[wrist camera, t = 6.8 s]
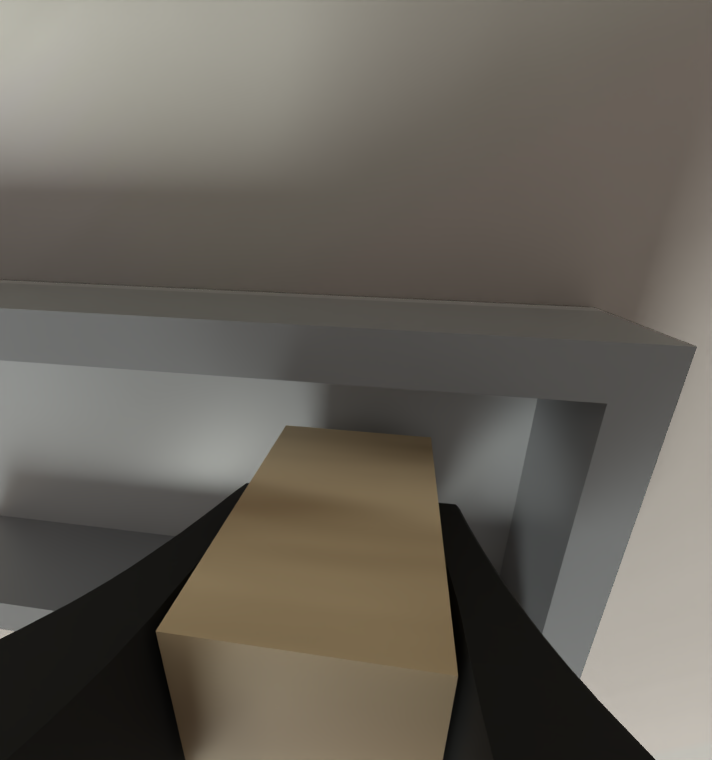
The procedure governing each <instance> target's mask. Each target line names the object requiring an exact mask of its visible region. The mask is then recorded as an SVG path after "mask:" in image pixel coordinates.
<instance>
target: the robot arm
mask: <svg viewBox="0 0 712 760" xmlns="http://www.w3.org/2000/svg"><path fill="white" fill-rule="evenodd" d="M248 485H249V483H246V484H244V485H243V486H242V487H240V488H239V489H237V490H236V491H235V492H234V493H232V494H231V495H230V496H228V497H227V498H226V499H224V500H223V501H222V502H221V503H219V504H218V505H217V506H215V507H214V508H213V509H212V510H210V511H209V512H208V513H206V514H205V515H204V516H202V517H201V518H200V519H198V520H197V521H196V522H194V523H193V524H192V525H190V526H189V527H188V528H186V529H185V530H184V531H182V532H181V533H179V534H178V535H177V536H175V537H174V538H172V539H171V540H169V541H168V542H166V543H165V544H164V545H162V546H161V547H159V548H158V549H156V550H155V551H153V552H152V553H150V554H149V555H148V556H146V557H145V558H143V559H142V560H140V561H139V562H137V563H136V564H134V565H133V566H131V567H130V568H128V569H126V570H125V571H123V572H122V573H120V574H118V575H117V576H115V577H114V578H112V579H110V580H109V581H107V582H105V583H104V584H102V585H100V586H98V587H97V588H95V589H93V590H92V591H90V592H88V593H87V594H85V595H83V596H81V597H80V598H78V599H76V600H74V601H72V602H71V603H69V604H67V605H65V606H63V607H61V608H59V609H57V610H55V611H54V612H52V613H50V614H48V615H46V616H44V617H42V618H40V619H38V620H36V621H34V622H32V623H31V624H29V625H27V626H25V627H23V628H21V629H19V630H17V631H15V632H13V633H11V634H9V635H7V636H5V637H3V638H1V639H0V760H185V756H184V752H183V748H182V743H181V739H180V735H179V730H178V726H177V722H176V717H175V713H174V709H173V704H172V700H171V696H170V691H169V687H168V683H167V679H166V674H165V670H164V666H163V661H162V657H161V653H160V648H159V644H158V640H157V635H156V630H157V628H158V627H159V625H160V623H161V622H162V620H163V619H164V617H165V616H166V614H167V612H168V611H169V609H170V608H171V606H172V605H173V603H174V601H175V600H176V598H177V597H178V595H179V593H180V592H181V590H182V589H183V587H184V586H185V584H186V582H187V581H188V579H189V578H190V576H191V575H192V573H193V571H194V570H195V568H196V567H197V565H198V563H199V562H200V560H201V559H202V557H203V556H204V554H205V552H206V551H207V549H208V548H209V546H210V545H211V543H212V541H213V540H214V538H215V537H216V535H217V533H218V532H219V530H220V529H221V527H222V526H223V524H224V522H225V521H226V519H227V518H228V516H229V515H230V513H231V511H232V510H233V508H234V507H235V505H236V504H237V502H238V500H239V499H240V497H241V496H242V494H243V492H244V491H245V489H246V488H247V486H248ZM439 512H440V521H441V529H442V538H443V547H444V556H445V565H446V573H447V582H448V591H449V600H450V609H451V618H452V626H453V635H454V644H455V653H456V662H457V670H458V680H457V685H456V690H455V696H454V701H453V707H452V712H451V718H450V723H449V729H448V734H447V740H446V745H445V750H444V756H443V760H655V759H654V758H653V757H652V756H651V755H650V753H649V752H648V751H647V750H646V749H645V748H644V747H643V746H642V745H641V744H640V743H639V742H638V741H637V740H636V739H635V738H634V737H633V736H632V735H631V734H630V733H629V732H628V731H627V729H626V728H625V727H624V726H623V725H622V724H621V723H620V722H619V721H618V720H617V719H616V718H615V717H614V716H613V715H612V714H611V713H610V712H609V711H608V710H607V709H606V708H605V707H604V706H603V704H602V703H601V702H600V701H599V700H598V699H597V698H596V697H595V696H594V694H593V693H592V692H591V691H590V690H589V689H588V688H587V687H586V685H585V684H584V683H583V682H582V681H581V680H580V679H579V677H578V676H577V675H576V674H575V673H574V672H573V671H572V670H571V668H570V667H569V666H568V665H567V664H566V662H565V661H564V660H563V659H562V658H561V656H560V655H559V654H558V653H557V652H556V650H555V649H554V648H553V647H552V646H551V644H550V643H549V642H548V641H547V639H546V638H545V637H544V636H543V634H542V633H541V632H540V631H539V629H538V628H537V627H536V625H535V624H534V623H533V621H532V620H531V619H530V617H529V616H528V615H527V613H526V612H525V611H524V609H523V608H522V607H521V605H520V604H519V603H518V601H517V600H516V598H515V597H514V596H513V594H512V593H511V591H510V590H509V589H508V587H507V586H506V584H505V583H504V581H503V580H502V578H501V577H500V575H499V574H498V572H497V571H496V569H495V568H494V566H493V565H492V563H491V562H490V560H489V559H488V557H487V555H486V554H485V552H484V551H483V549H482V547H481V546H480V544H479V542H478V541H477V539H476V537H475V536H474V534H473V532H472V530H471V529H470V527H469V525H468V523H467V521H466V520H465V518H464V516H463V514H462V512H461V510H460V508H459V507H458V506H457V505H456V504H448V503H439Z"/></svg>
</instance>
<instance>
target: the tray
mask: <svg viewBox="0 0 712 760" xmlns="http://www.w3.org/2000/svg"><path fill="white" fill-rule="evenodd" d="M696 348H697V346H694V345H691V344H689V343H686V342H684V341H681V340H678V339H676V338H673V337H671V336H668V335H665V334H663V333H660V332H657V331H655V330H652V329H650V328H647V327H644V326H642V325H639V324H636V323H634V322H631V321H629V320H626V319H623V318H621V317H618V316H616V315H613V314H610V313H608V312H605V311H602V310H600V309H597V308H595V307H574V306H552V305H531V304H509V303H487V302H466V301H444V300H423V299H401V298H380V297H358V296H337V295H315V294H294V293H272V292H251V291H229V290H208V289H186V288H165V287H143V286H122V285H100V284H79V283H57V282H36V281H14V280H0V629H5V630H11V631H17V630H19V629H21V628H23V627H25V626H27V625H29V624H31V623H32V622H34V621H36V620H38V619H40V618H42V617H44V616H46V615H48V614H50V613H52V612H54V611H55V610H57V609H59V608H61V607H63V606H65V605H67V604H69V603H71V602H72V601H74V600H76V599H78V598H80V597H81V596H83V595H85V594H87V593H88V592H90V591H92V590H93V589H95V588H97V587H98V586H100V585H102V584H104V583H105V582H107V581H109V580H110V579H112V578H114V577H115V576H117V575H118V574H120V573H122V572H123V571H125V570H126V569H128V568H130V567H131V566H133V565H134V564H136V563H137V562H139V561H140V560H142V559H143V558H145V557H146V556H148V555H149V554H150V553H152V552H153V551H155V550H156V549H158V548H159V547H161V546H162V545H164V544H165V543H166V542H168V541H169V540H171V539H172V538H174V537H175V536H177V535H178V534H179V533H181V532H182V531H184V530H185V529H186V528H188V527H189V526H190V525H192V524H193V523H194V522H196V521H197V520H198V519H200V518H201V517H202V516H204V515H205V514H206V513H208V512H209V511H210V510H212V509H213V508H214V507H215V506H217V505H218V504H219V503H221V502H222V501H223V500H224V499H226V498H227V497H228V496H230V495H231V494H232V493H234V492H235V491H236V490H237V489H239V488H240V487H242V486H243V485H244V484H246V483H250V481H251V480H252V478H253V477H254V475H255V474H256V472H257V470H258V469H259V467H260V466H261V464H262V462H263V461H264V459H265V458H266V456H267V455H268V453H269V451H270V450H271V448H272V447H273V445H274V444H275V442H276V440H277V439H278V437H279V436H280V434H281V432H282V431H283V429H284V428H285V426H286V425H288V426H300V427H312V428H324V429H336V430H348V431H360V432H372V433H384V434H396V435H408V436H420V437H431V441H432V450H433V459H434V468H435V477H436V485H437V494H438V503H448V504H456V505H457V506H458V507H459V508H460V510H461V512H462V514H463V516H464V518H465V520H466V521H467V523H468V525H469V527H470V529H471V530H472V532H473V534H474V536H475V537H476V539H477V541H478V542H479V544H480V546H481V547H482V549H483V551H484V552H485V554H486V555H487V557H488V559H489V560H490V562H491V563H492V565H493V566H494V568H495V569H496V571H497V572H498V574H499V575H500V577H501V578H502V580H503V581H504V583H505V584H506V586H507V587H508V589H509V590H510V591H511V593H512V594H513V596H514V597H515V598H516V600H517V601H518V603H519V604H520V605H521V607H522V608H523V609H524V611H525V612H526V613H527V615H528V616H529V617H530V619H531V620H532V621H533V623H534V624H535V625H536V627H537V628H538V629H539V631H540V632H541V633H542V634H543V636H544V637H545V638H546V639H547V641H548V642H549V643H550V644H551V646H552V647H553V648H554V649H555V650H556V652H557V653H558V654H559V655H560V656H561V658H562V659H563V660H564V661H565V662H566V664H567V665H568V666H569V667H570V668H571V670H572V671H573V672H574V673H575V674H576V675H577V676H578V677H579V679H580V677H581V674H582V671H583V669H584V666H585V663H586V660H587V657H588V654H589V652H590V649H591V646H592V643H593V640H594V637H595V635H596V632H597V629H598V626H599V623H600V620H601V618H602V615H603V612H604V609H605V606H606V603H607V601H608V598H609V595H610V592H611V589H612V586H613V583H614V581H615V578H616V575H617V572H618V569H619V566H620V564H621V561H622V558H623V555H624V552H625V549H626V547H627V544H628V541H629V538H630V535H631V532H632V530H633V527H634V524H635V521H636V518H637V515H638V513H639V510H640V507H641V504H642V501H643V498H644V496H645V493H646V490H647V487H648V484H649V481H650V479H651V476H652V473H653V470H654V467H655V464H656V461H657V459H658V456H659V453H660V450H661V447H662V444H663V442H664V439H665V436H666V433H667V430H668V427H669V425H670V422H671V419H672V416H673V413H674V410H675V408H676V405H677V402H678V399H679V396H680V393H681V391H682V388H683V385H684V382H685V379H686V376H687V374H688V371H689V368H690V365H691V362H692V359H693V356H694V354H695V351H696Z"/></svg>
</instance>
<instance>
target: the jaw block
mask: <svg viewBox="0 0 712 760" xmlns="http://www.w3.org/2000/svg"><path fill="white" fill-rule="evenodd" d="M156 635H157V640H158V644H159V648H160V653H161V657H162V661H163V666H164V670H165V674H166V679H167V683H168V687H169V691H170V696H171V700H172V704H173V709H174V713H175V717H176V722H177V726H178V730H179V735H180V739H181V743H182V748H183V752H184V756H185V760H443V756H444V750H445V745H446V740H447V734H448V729H449V723H450V718H451V712H452V707H453V701H454V696H455V690H456V685H457V680H458V670H457V662H456V653H455V644H454V635H453V626H452V618H451V609H450V600H449V591H448V582H447V573H446V565H445V556H444V547H443V538H442V529H441V521H440V512H439V503H438V494H437V485H436V477H435V468H434V459H433V450H432V441H431V437H420V436H408V435H396V434H384V433H372V432H360V431H348V430H336V429H324V428H312V427H300V426H288V425H286V426H285V428H284V429H283V431H282V432H281V434H280V436H279V437H278V439H277V440H276V442H275V444H274V445H273V447H272V448H271V450H270V451H269V453H268V455H267V456H266V458H265V459H264V461H263V462H262V464H261V466H260V467H259V469H258V470H257V472H256V474H255V475H254V477H253V478H252V480H251V481H250V483H249V485H248V486H247V488H246V489H245V491H244V492H243V494H242V496H241V497H240V499H239V500H238V502H237V504H236V505H235V507H234V508H233V510H232V511H231V513H230V515H229V516H228V518H227V519H226V521H225V522H224V524H223V526H222V527H221V529H220V530H219V532H218V533H217V535H216V537H215V538H214V540H213V541H212V543H211V545H210V546H209V548H208V549H207V551H206V552H205V554H204V556H203V557H202V559H201V560H200V562H199V563H198V565H197V567H196V568H195V570H194V571H193V573H192V575H191V576H190V578H189V579H188V581H187V582H186V584H185V586H184V587H183V589H182V590H181V592H180V593H179V595H178V597H177V598H176V600H175V601H174V603H173V605H172V606H171V608H170V609H169V611H168V612H167V614H166V616H165V617H164V619H163V620H162V622H161V623H160V625H159V627H158V628H157V630H156Z"/></svg>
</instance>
